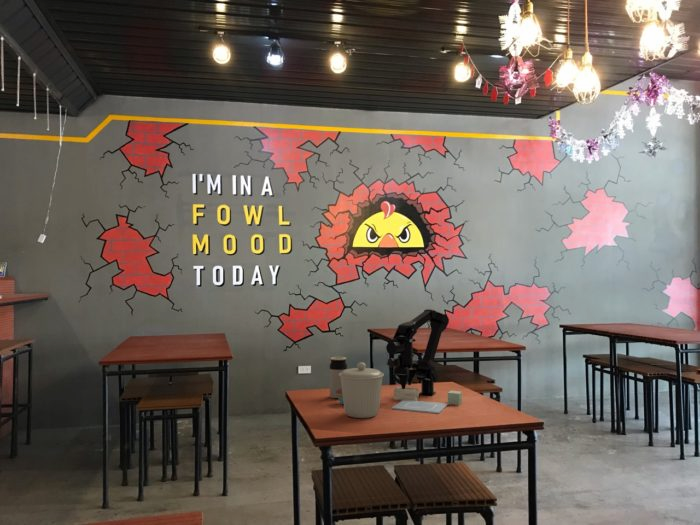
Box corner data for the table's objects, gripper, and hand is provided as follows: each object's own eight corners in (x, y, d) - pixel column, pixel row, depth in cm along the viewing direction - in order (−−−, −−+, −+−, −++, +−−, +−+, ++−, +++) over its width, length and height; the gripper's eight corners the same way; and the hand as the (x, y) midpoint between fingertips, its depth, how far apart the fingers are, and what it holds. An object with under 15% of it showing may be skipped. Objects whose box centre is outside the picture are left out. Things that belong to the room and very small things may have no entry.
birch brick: (397, 397, 254) (397, 386, 254) (418, 399, 251) (418, 387, 251) (393, 400, 249) (393, 389, 249) (415, 401, 245) (415, 390, 245)
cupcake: (332, 404, 240) (332, 376, 240) (340, 400, 247) (340, 373, 248) (351, 406, 236) (351, 378, 237) (358, 402, 244) (358, 374, 244)
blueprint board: (403, 400, 246) (403, 399, 246) (448, 405, 238) (448, 403, 238) (392, 409, 231) (392, 407, 231) (439, 413, 224) (439, 411, 224)
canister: (378, 422, 210) (377, 367, 211) (333, 419, 216) (332, 365, 216) (388, 411, 228) (388, 360, 228) (346, 408, 233) (346, 358, 233)
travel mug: (350, 396, 256) (350, 357, 256) (341, 399, 249) (341, 359, 249) (335, 394, 260) (335, 356, 260) (326, 398, 253) (326, 358, 253)
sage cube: (450, 401, 244) (450, 390, 244) (461, 402, 242) (461, 391, 242) (447, 404, 240) (447, 392, 240) (459, 405, 238) (459, 393, 238)
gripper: (395, 348, 262) (396, 381, 262) (382, 354, 245) (382, 389, 245) (418, 349, 258) (418, 383, 257) (406, 355, 240) (406, 391, 240)
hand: (406, 386), depth 250 cm, fingers open, 9 cm apart
